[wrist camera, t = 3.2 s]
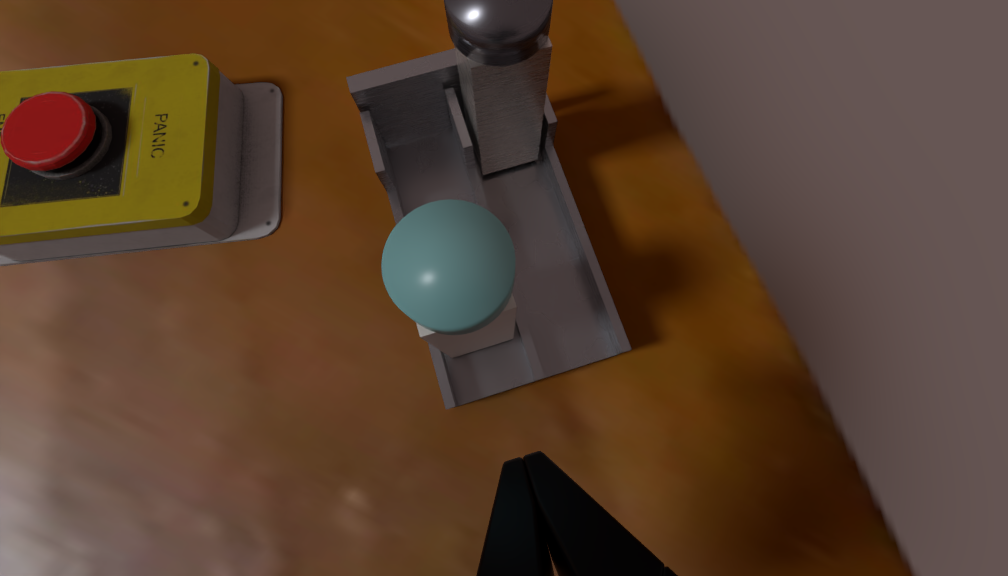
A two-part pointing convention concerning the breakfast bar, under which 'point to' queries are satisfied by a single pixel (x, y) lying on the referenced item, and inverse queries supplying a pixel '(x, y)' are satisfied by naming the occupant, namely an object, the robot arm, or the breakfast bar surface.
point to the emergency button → (135, 158)
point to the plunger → (453, 275)
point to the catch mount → (495, 185)
